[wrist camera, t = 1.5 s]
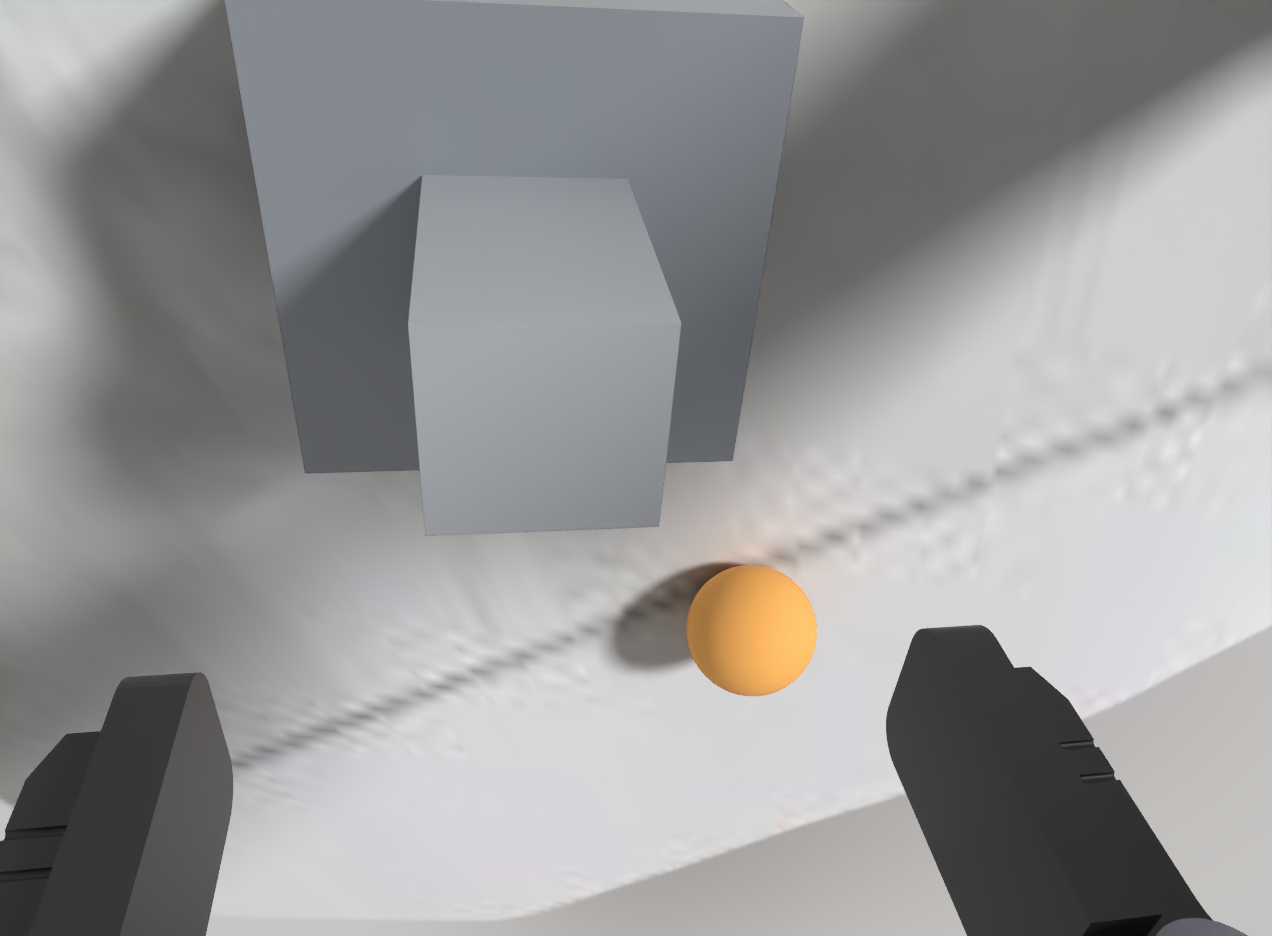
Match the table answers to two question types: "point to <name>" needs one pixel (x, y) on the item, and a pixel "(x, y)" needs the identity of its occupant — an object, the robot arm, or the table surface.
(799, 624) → the ball
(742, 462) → the table surface
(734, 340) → the grey stepped block
